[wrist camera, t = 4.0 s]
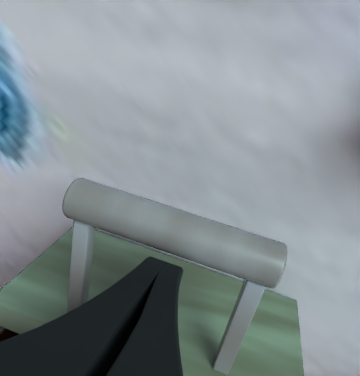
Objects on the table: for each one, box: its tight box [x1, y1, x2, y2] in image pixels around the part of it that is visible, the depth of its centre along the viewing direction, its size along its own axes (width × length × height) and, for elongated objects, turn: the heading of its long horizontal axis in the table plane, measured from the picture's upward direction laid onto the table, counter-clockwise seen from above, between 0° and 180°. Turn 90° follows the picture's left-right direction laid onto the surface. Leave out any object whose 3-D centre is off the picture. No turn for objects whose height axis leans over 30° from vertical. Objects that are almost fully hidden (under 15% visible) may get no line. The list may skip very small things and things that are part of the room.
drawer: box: [0, 178, 304, 376], centre depth 16 cm, size 20×12×6 cm, turn 168°
